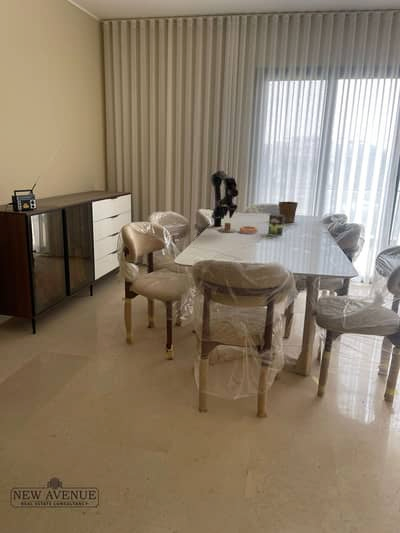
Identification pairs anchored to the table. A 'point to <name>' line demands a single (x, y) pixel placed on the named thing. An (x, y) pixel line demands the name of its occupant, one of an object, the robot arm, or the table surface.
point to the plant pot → (288, 211)
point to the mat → (224, 232)
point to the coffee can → (276, 224)
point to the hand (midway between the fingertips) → (227, 216)
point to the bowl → (248, 229)
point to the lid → (227, 229)
